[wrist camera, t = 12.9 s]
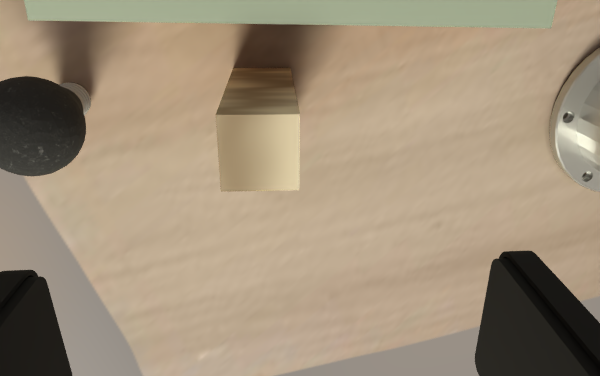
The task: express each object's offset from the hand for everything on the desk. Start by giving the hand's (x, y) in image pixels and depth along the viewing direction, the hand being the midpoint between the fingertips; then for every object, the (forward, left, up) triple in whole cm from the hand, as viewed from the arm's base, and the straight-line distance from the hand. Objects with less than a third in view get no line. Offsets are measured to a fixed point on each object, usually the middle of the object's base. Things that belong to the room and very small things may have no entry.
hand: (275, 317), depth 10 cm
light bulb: (+14, +2, -26) cm, 30 cm away
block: (+1, +2, -26) cm, 26 cm away
